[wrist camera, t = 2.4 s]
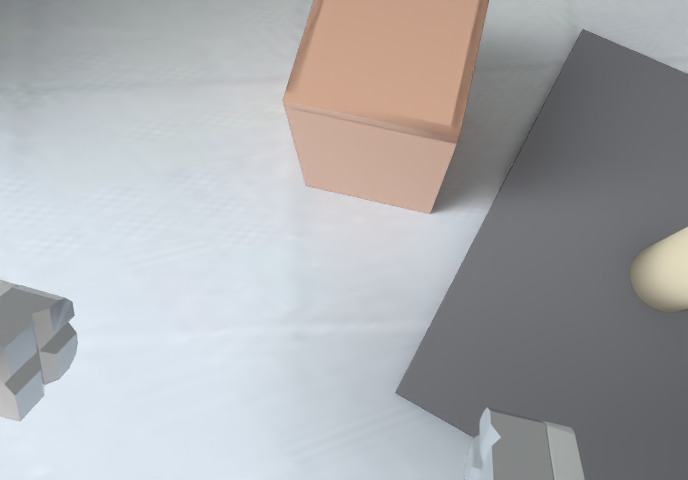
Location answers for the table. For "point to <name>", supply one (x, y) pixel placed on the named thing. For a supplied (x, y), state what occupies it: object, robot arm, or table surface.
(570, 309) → the mat
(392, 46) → the light orange rectangular block
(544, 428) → the robot arm
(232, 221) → the table surface
